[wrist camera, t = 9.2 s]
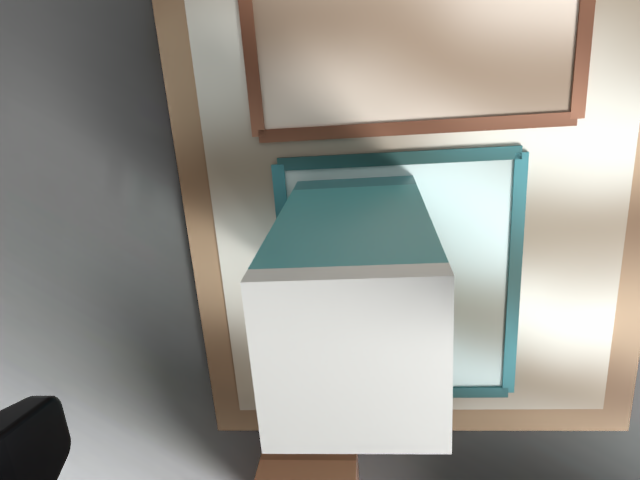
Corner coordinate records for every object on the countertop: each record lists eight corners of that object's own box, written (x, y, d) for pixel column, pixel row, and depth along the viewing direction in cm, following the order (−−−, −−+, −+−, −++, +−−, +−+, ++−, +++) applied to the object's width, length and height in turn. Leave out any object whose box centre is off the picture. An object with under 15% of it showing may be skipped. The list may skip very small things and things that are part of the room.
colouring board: (623, 423, 19) (631, 435, 18) (220, 423, 20) (216, 434, 20) (708, -168, 13) (724, -179, 13) (140, -108, 15) (130, -115, 14)
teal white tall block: (414, 282, 17) (452, 454, 10) (306, 285, 18) (261, 453, 10) (412, 175, 16) (454, 275, 9) (297, 181, 16) (240, 282, 9)
